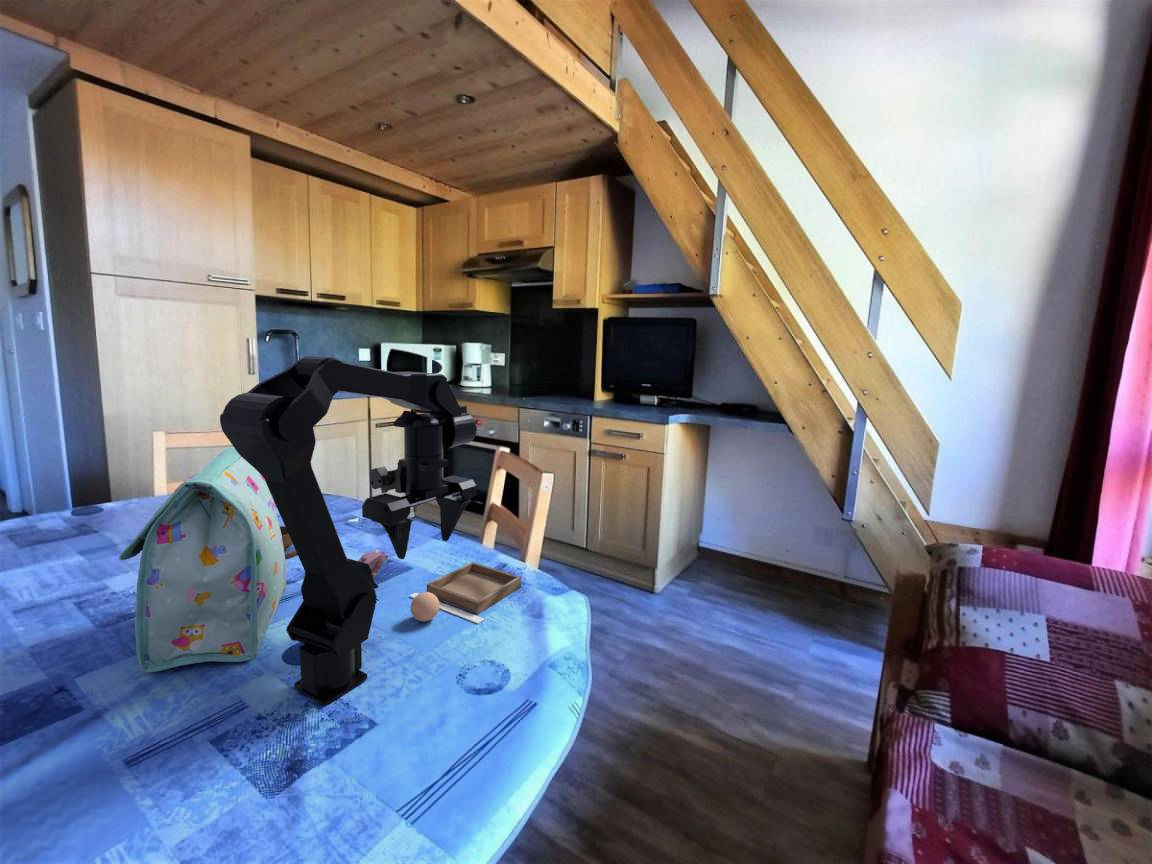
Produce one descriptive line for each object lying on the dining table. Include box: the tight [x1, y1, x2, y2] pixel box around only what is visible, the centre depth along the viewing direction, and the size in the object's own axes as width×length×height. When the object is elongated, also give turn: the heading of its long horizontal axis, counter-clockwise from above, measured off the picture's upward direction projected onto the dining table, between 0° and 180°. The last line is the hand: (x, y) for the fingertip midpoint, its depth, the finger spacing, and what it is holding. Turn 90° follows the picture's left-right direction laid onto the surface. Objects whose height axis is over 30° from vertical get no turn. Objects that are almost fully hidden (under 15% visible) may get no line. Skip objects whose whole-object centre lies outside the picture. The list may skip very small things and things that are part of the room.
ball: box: [410, 591, 440, 622], centre depth 82 cm, size 4×4×4 cm
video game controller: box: [357, 548, 389, 578], centre depth 94 cm, size 10×5×7 cm, turn 169°
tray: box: [426, 561, 522, 615], centre depth 92 cm, size 12×12×2 cm
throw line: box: [408, 592, 485, 625], centre depth 86 cm, size 2×16×1 cm, turn 60°
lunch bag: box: [118, 446, 287, 673], centre depth 75 cm, size 23×16×27 cm
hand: (424, 549), depth 81 cm, fingers open, 9 cm apart
